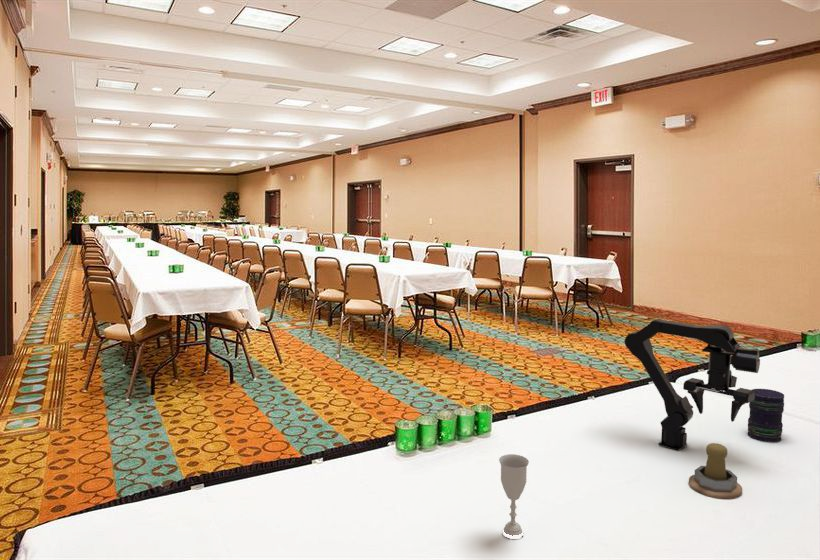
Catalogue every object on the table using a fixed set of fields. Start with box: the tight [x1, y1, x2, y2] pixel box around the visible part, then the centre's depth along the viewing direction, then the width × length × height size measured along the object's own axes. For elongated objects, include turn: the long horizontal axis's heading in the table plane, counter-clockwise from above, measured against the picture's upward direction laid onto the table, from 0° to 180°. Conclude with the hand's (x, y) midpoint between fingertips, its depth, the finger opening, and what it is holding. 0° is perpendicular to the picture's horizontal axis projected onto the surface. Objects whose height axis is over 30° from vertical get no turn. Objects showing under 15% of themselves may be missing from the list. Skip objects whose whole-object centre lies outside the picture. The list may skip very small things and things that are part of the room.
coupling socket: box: [688, 465, 743, 500], centre depth 163 cm, size 13×13×4 cm
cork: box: [704, 442, 729, 480], centre depth 162 cm, size 6×6×11 cm
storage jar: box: [747, 388, 785, 444], centre depth 197 cm, size 10×10×15 cm
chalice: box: [498, 453, 530, 536], centre depth 140 cm, size 7×7×18 cm
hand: (716, 417), depth 183 cm, fingers open, 9 cm apart
